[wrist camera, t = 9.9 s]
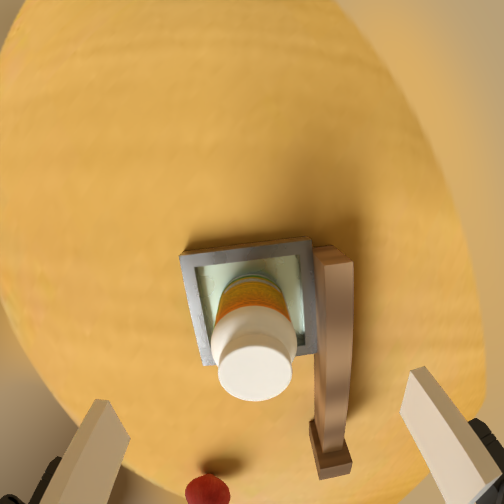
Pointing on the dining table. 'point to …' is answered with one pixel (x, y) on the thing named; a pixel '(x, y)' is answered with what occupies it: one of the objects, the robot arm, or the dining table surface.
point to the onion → (207, 491)
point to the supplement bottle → (253, 339)
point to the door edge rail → (332, 360)
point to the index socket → (252, 262)
